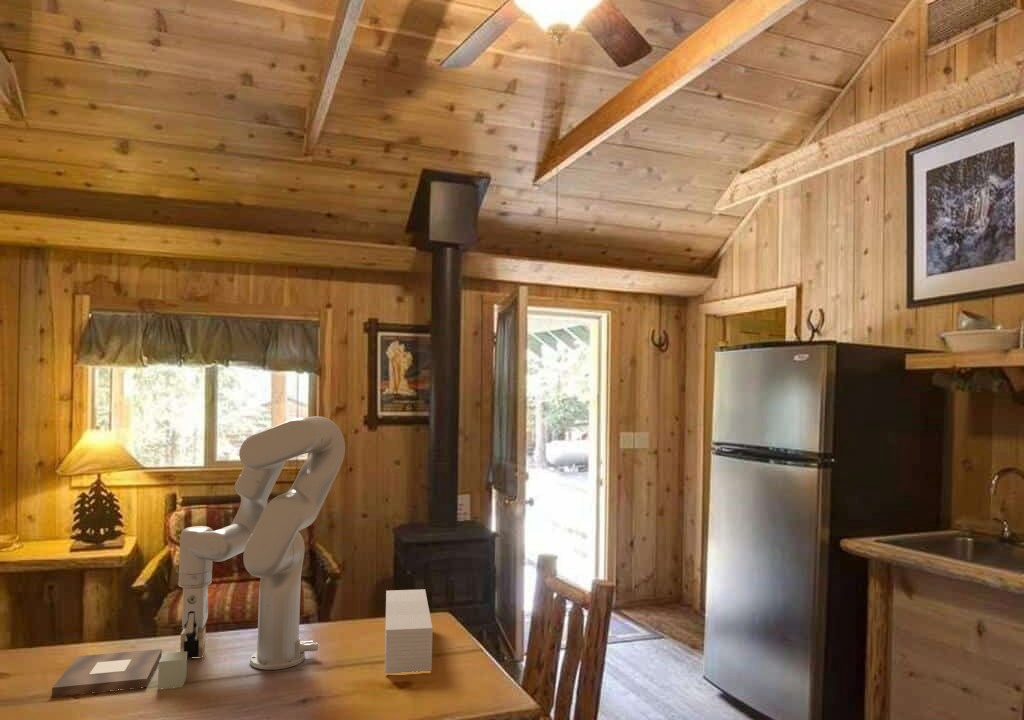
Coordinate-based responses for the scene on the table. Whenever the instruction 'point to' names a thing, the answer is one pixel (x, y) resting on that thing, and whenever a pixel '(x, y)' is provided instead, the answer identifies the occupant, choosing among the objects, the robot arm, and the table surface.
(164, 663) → the sage block
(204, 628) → the maple block
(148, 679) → the walnut board
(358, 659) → the table surface
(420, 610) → the stack of papers
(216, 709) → the table surface
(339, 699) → the table surface
